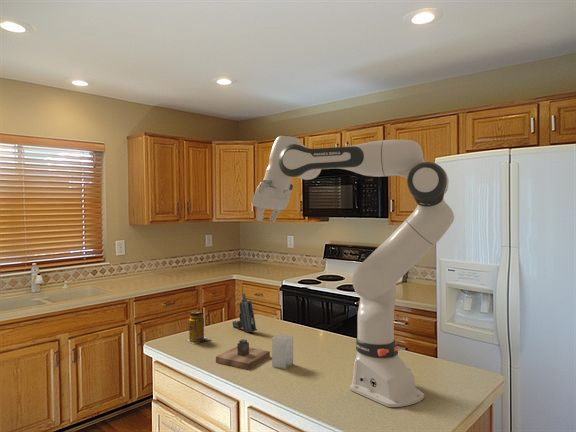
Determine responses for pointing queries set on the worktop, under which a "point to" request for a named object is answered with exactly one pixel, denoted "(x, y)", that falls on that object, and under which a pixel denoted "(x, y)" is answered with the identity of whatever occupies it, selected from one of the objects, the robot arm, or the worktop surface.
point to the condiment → (196, 328)
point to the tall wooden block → (282, 351)
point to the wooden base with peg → (243, 356)
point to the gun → (246, 316)
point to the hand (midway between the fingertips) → (265, 221)
